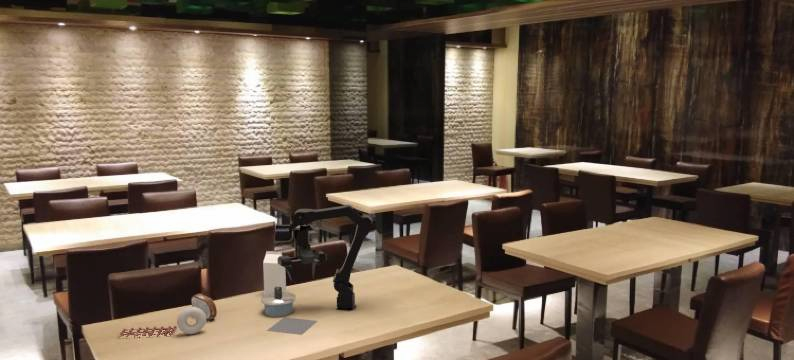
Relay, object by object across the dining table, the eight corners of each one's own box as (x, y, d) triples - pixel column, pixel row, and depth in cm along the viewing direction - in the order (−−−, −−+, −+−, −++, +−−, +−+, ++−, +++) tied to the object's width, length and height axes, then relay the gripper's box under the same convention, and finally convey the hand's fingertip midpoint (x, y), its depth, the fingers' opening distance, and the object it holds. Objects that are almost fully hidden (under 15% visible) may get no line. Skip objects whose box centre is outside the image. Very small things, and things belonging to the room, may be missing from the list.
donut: (206, 330, 226) (204, 303, 224) (207, 333, 223) (206, 306, 221) (177, 334, 222) (175, 307, 220) (178, 337, 219) (176, 310, 217)
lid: (301, 295, 247) (301, 284, 246) (286, 306, 234) (285, 294, 233) (271, 292, 251) (270, 281, 250) (254, 303, 238) (253, 291, 237)
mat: (317, 322, 233) (317, 320, 233) (301, 335, 220) (301, 334, 220) (284, 318, 237) (284, 317, 237) (266, 331, 224) (266, 330, 224)
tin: (217, 320, 235) (216, 299, 234) (210, 323, 233) (209, 301, 232) (197, 311, 245) (196, 291, 244) (190, 313, 243) (189, 292, 242)
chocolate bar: (123, 332, 225) (123, 327, 225) (176, 330, 227) (176, 325, 227) (116, 340, 218) (116, 334, 218) (172, 337, 220) (171, 332, 220)
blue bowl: (297, 309, 247) (296, 296, 246) (284, 318, 236) (284, 305, 236) (272, 307, 250) (272, 293, 249) (259, 316, 239) (259, 302, 239)
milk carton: (279, 297, 261) (278, 254, 259) (264, 296, 263) (262, 253, 260) (286, 292, 268) (284, 250, 266) (270, 291, 270) (269, 249, 267)
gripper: (285, 248, 231) (286, 288, 233) (331, 242, 240) (332, 281, 242) (276, 242, 241) (277, 280, 243) (321, 237, 250) (322, 274, 252)
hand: (302, 279), depth 245 cm, fingers open, 9 cm apart
